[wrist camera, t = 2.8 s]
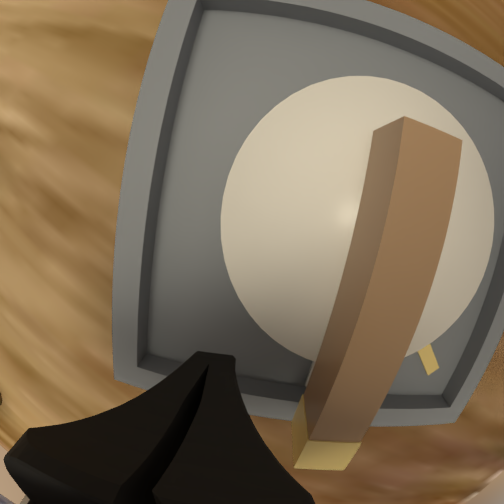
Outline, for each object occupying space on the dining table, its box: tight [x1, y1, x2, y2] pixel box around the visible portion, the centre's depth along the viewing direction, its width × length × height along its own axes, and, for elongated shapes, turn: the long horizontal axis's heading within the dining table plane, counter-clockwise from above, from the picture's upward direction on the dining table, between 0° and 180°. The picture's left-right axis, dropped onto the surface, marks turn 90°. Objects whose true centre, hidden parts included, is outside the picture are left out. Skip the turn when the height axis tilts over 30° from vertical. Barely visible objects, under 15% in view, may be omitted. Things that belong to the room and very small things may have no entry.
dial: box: [220, 76, 494, 470], centre depth 9 cm, size 10×13×4 cm
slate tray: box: [112, 0, 504, 426], centre depth 11 cm, size 18×18×2 cm
